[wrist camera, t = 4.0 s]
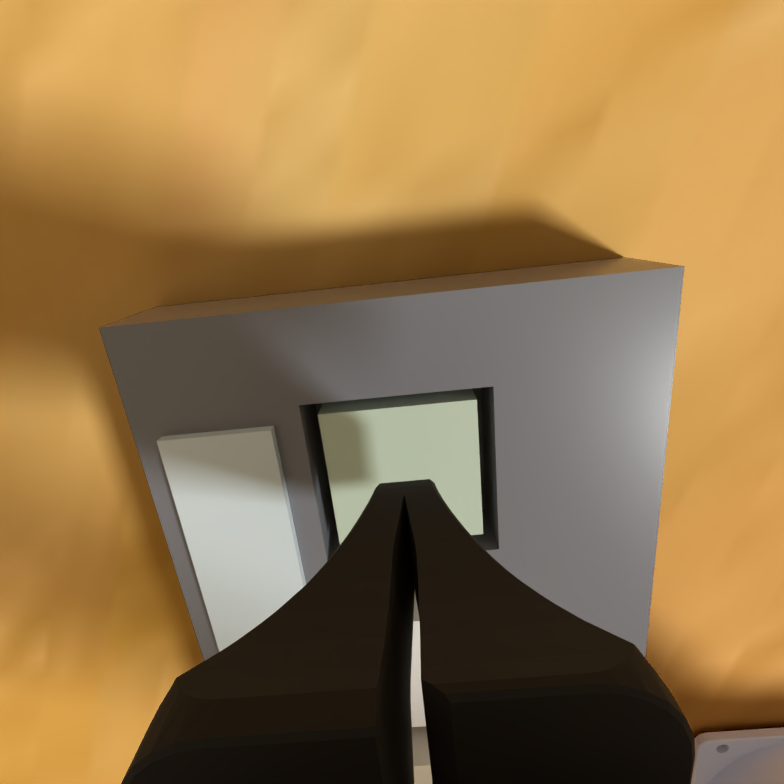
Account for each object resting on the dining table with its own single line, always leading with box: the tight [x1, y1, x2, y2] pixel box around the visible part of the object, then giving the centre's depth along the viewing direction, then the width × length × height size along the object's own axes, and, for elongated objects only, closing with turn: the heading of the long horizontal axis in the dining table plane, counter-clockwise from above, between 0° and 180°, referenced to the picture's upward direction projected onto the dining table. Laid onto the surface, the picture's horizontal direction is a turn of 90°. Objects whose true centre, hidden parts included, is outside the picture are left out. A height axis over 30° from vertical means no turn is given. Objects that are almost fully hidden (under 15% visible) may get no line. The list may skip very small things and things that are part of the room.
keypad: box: [99, 257, 684, 661], centre depth 16 cm, size 14×22×3 cm, turn 6°
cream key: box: [412, 726, 433, 784], centre depth 17 cm, size 4×4×1 cm
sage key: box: [318, 389, 483, 544], centre depth 14 cm, size 4×4×1 cm
